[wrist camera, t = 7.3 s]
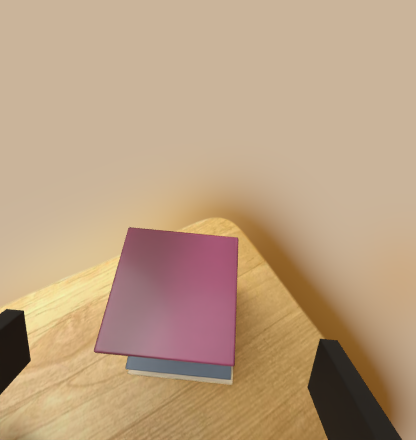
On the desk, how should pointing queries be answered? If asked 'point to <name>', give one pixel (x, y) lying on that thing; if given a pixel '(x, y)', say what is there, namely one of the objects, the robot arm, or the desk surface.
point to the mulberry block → (173, 298)
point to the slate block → (178, 367)
